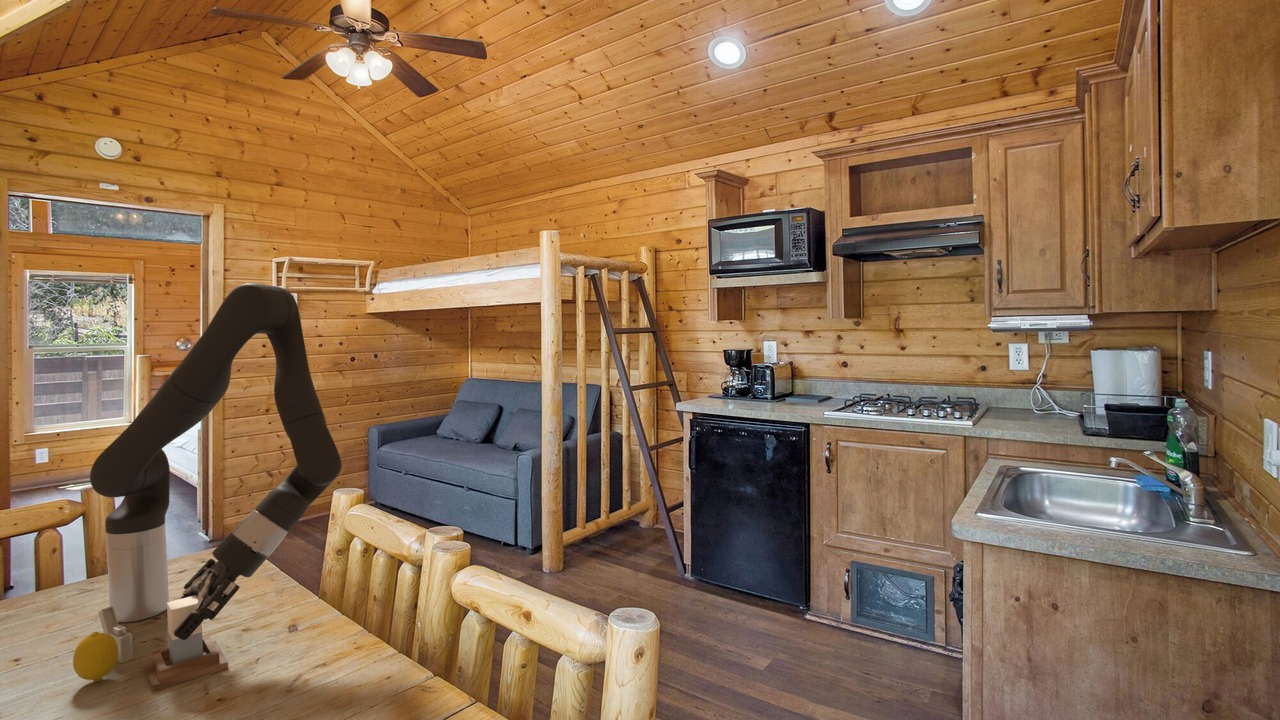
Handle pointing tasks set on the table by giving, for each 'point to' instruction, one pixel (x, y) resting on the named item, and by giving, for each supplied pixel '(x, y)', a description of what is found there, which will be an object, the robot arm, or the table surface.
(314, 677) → the table surface
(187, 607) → the brick block
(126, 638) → the lighter
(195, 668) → the socket board
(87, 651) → the lemon
